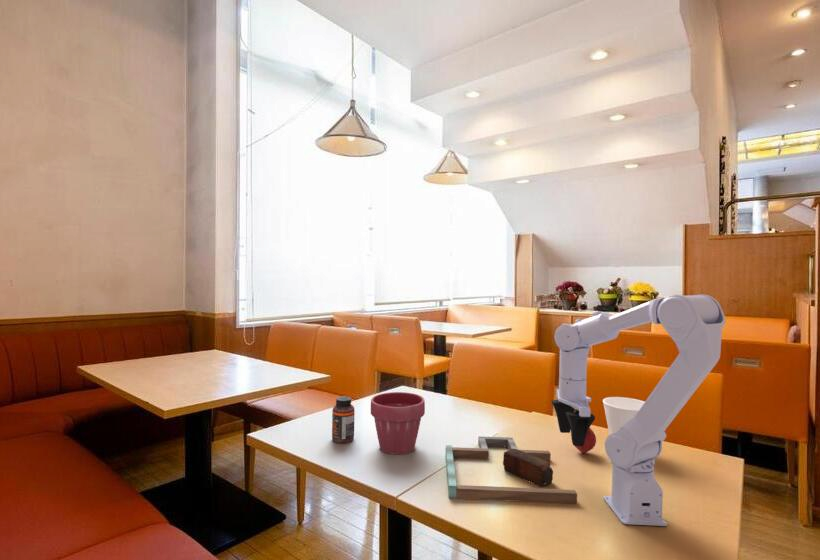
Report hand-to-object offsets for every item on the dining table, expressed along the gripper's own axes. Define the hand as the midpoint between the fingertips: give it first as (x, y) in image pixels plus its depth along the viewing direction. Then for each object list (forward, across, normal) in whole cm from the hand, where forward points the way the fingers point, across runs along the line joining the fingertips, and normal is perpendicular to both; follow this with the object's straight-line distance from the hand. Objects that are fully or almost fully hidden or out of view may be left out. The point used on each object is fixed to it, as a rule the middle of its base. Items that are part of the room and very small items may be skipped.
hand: (571, 438), depth 97 cm
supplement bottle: (+9, +22, +54) cm, 59 cm away
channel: (+9, +5, +14) cm, 18 cm away
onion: (+9, +14, -9) cm, 19 cm away
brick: (+10, +1, +9) cm, 13 cm away
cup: (+9, +17, -21) cm, 28 cm away
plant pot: (+9, +16, +39) cm, 43 cm away
